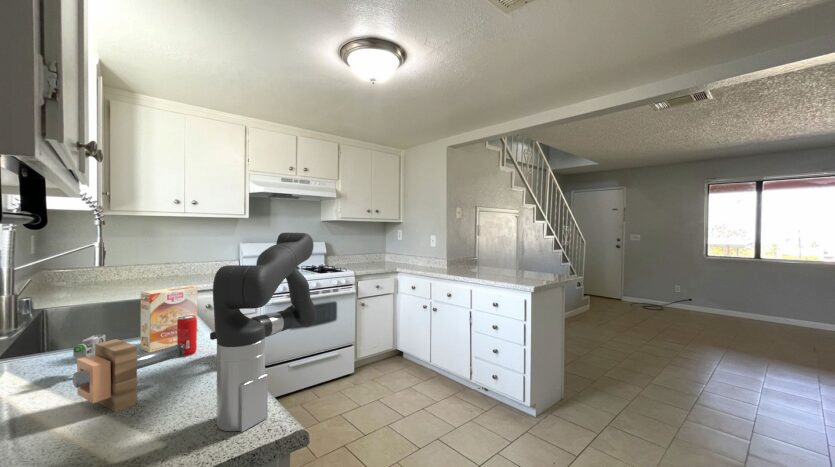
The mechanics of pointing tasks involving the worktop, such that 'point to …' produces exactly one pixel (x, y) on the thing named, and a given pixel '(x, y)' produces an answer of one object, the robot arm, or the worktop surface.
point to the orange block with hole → (95, 378)
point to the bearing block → (120, 373)
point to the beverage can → (187, 333)
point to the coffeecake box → (164, 315)
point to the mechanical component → (87, 346)
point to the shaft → (142, 361)
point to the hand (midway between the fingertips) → (219, 338)
